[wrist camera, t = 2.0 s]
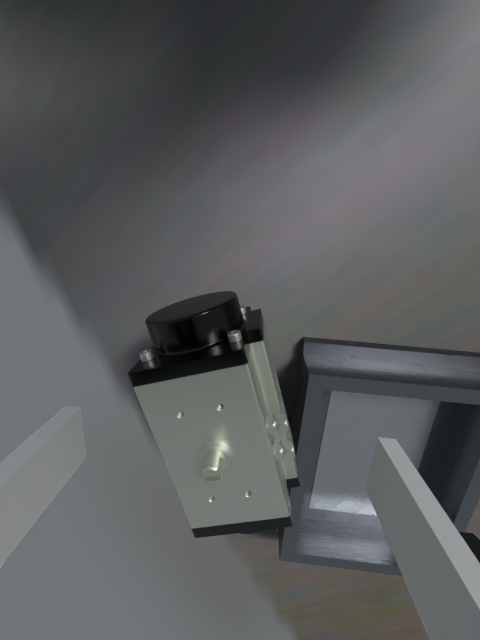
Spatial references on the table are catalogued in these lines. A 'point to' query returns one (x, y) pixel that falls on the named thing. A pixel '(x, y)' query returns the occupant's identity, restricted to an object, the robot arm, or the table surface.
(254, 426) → the pneumatic valve
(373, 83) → the table surface
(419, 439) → the rectangular open-top bin
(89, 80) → the table surface
